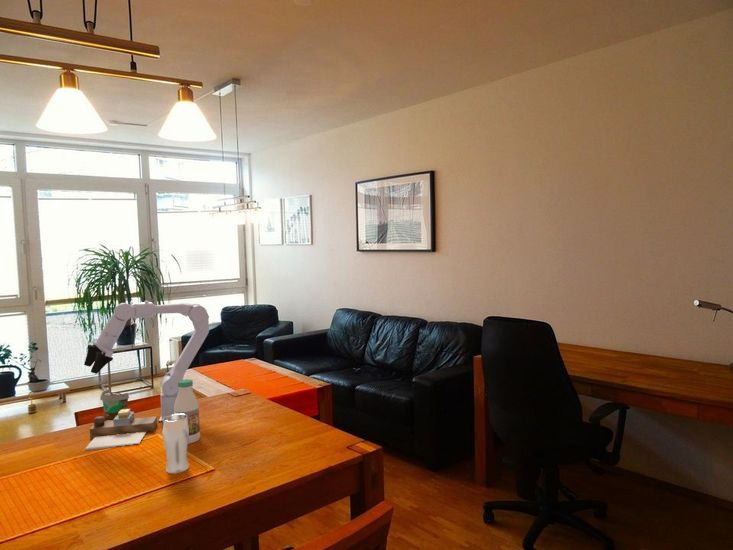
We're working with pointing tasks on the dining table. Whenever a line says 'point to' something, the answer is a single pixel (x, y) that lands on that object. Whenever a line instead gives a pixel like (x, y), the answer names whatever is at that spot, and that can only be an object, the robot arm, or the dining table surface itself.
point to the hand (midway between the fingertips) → (90, 369)
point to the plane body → (108, 426)
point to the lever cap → (123, 418)
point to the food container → (113, 403)
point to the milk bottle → (188, 408)
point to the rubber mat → (115, 440)
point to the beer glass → (176, 442)
